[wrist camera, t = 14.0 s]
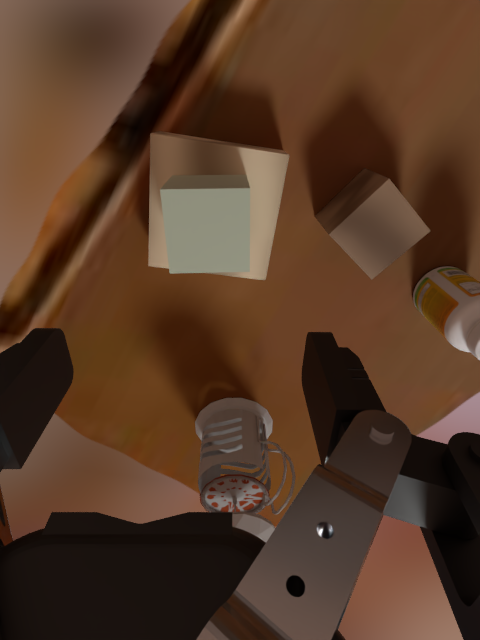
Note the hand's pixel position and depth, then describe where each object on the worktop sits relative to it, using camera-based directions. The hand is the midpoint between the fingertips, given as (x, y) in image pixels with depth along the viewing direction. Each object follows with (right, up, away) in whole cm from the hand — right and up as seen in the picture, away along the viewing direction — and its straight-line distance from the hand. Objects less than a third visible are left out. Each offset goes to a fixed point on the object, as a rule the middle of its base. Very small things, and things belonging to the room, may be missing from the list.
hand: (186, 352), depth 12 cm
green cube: (0, +9, +16) cm, 19 cm away
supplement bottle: (+22, +4, +24) cm, 33 cm away
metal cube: (+12, +11, +20) cm, 26 cm away
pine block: (0, +11, +20) cm, 23 cm away
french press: (+2, -12, +33) cm, 35 cm away
